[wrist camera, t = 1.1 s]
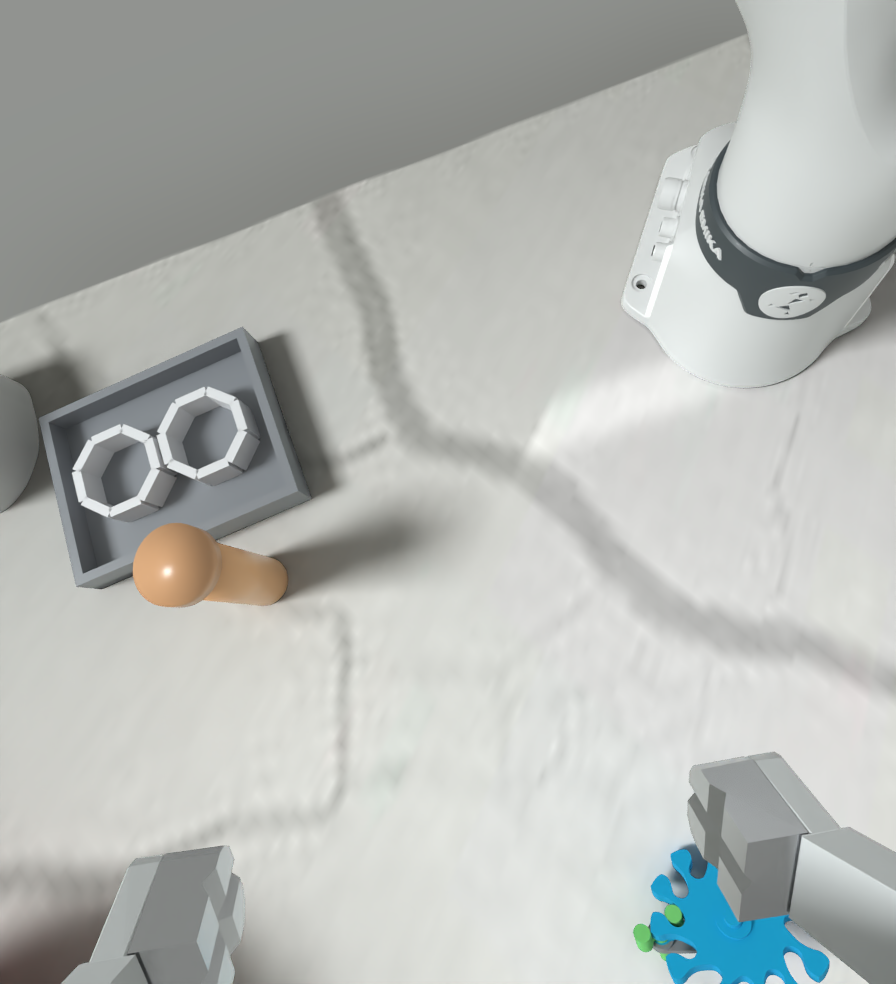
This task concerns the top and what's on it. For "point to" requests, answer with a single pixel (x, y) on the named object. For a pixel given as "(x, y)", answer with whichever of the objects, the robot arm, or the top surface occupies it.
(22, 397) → the lumpy-topped squat cylinder
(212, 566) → the round-headed peg
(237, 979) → the top surface
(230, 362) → the tray
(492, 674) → the top surface
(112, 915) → the robot arm
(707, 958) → the blue knobbed disc
